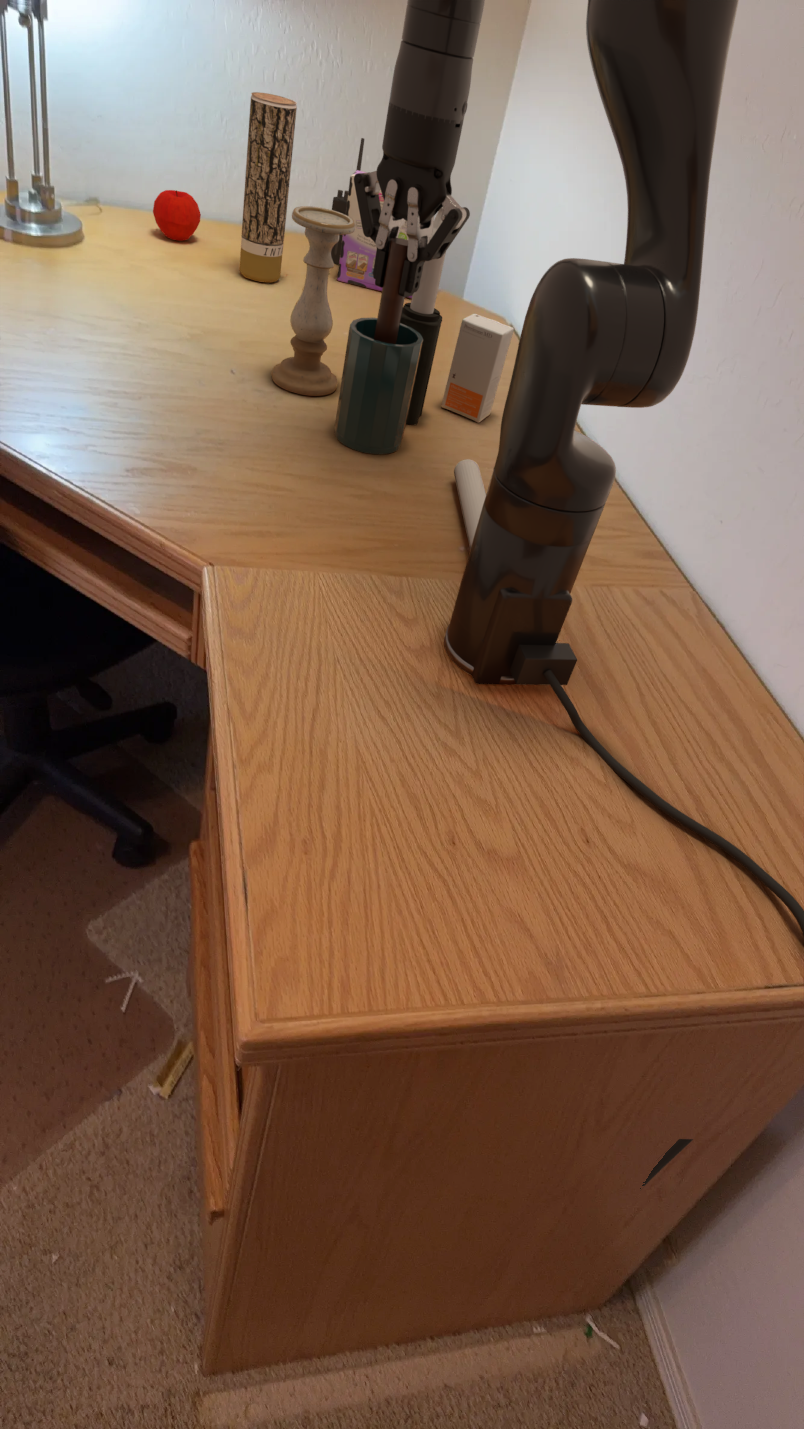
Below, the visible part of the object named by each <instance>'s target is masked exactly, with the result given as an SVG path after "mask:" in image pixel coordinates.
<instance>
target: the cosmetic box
mask: <svg viewBox="0 0 804 1429" xmlns="http://www.w3.org/2000/svg"><path fill="white" fill-rule="evenodd" d="M514 331H515V328H514V327H512V326H509V325H507V324H504V323H502V322H499V321H498V320H495V319H492V318H488V317H485V316H483V315H480V314H477V313H475V312H474V313H472V314H470V315H468V316H466V317H464V318H462V320H461V323H460V327H459V332H458V336H457V338H456V339H457V340H456V344H455V348H454V352H453V356H452V361H451V364H450V369H449V372H448V377H447V381H446V384H445V388H444V393H443V398H442V402H441V408H443V409H446V410H449V411H451V412H453V413H455V414H458V415H460V416H463V417H464V418H467V419H470V420H472V421H474V422H476V423H480V422H482V421H483V420H484V419H486V418H487V417H489V416H490V415H491V412H492V409H493V406H494V402H495V400H496V394H497V391H498V388H499V386H500V385H499V384H500V381H501V378H502V373H503V370H504V366H505V362H506V359H507V356H508V352H509V348H510V345H511V341H512V339H513V335H514Z"/></svg>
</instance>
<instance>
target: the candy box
mask: <svg viewBox="0 0 804 1429" xmlns="http://www.w3.org/2000/svg"><path fill="white" fill-rule="evenodd" d="M358 173H368V172H366V171H363V170H361V171H359V170H357V171H356V170H355V171H354V172H353V173H352V174H351V175H350V176H349V182H348V183H349V184H348V190H347V191H348V199H347V207H346V214H345V215H347V216H349V217H350V218H352V219H353V220H354V222H355V230H354V232H353V233H351V234H345V235H343V237H342V246H341V253H340V261H339V265H338V268H337V275H336V281H338V282H343V283H346V284H350V285H355V286H357V287H362V288H367V289H371V290H374V291H379V292H382V288H383V287H382V288H381V287H379V286H376V285H375V279H374V278H373V269H374V264H375V257H376V251H377V247H376V244H375V242H374V241H373V240H372V239H371V238H370V237H366V236H365V235H364V233H363V228H362V223H361V218H360V212H359V207H358V201H357V196H356V190H355V185H354V176H355V175H356V174H358ZM378 194H379V200H380V205H381V211H382V207H383V203H384V199H383V195H382V192H381V190H380V191H379V193H378ZM419 226H420V224H419ZM406 231H407V221H405V223H404V225H403V226H402V227H401V230H400V233H399V236H398V238H401V239H405V240H408V236H407V233H406ZM407 298H408V299H412V296H409V297H407Z"/></svg>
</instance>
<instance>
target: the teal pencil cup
mask: <svg viewBox="0 0 804 1429" xmlns="http://www.w3.org/2000/svg"><path fill="white" fill-rule="evenodd" d="M377 318H378V317H360V318H356V319H353V320H352V321H351V323H350V324H349V327H348V328H349V329H348V334H347V342H346V348H345V354H344V361H343V367H342V374H341V381H340V388H339V394H338V402H337V408H336V415H335V421H334V430H333V431H334V432H333V433H334V436H335V438H336V439H337V441H338V442H339V443H341V444H342V445H343V446H345V447H347V448H349V449H352V450H353V451H354V450H355V451H357V452H360V453H365V454H369V455H370V454H371V455H389V454H392V453H393V454H394V453H396V452H397V451H399V450H400V448H401V447H402V443H403V439H404V437H405V436H404V435H405V431H406V426H407V424H406V421H407V416H408V411H409V407H410V402H411V397H412V392H413V387H414V382H415V378H416V373H417V368H418V363H419V358H420V353H421V349H422V344H423V338H422V336H421V334H420V333H419V332H417V331H416V330H414V329H413V328H411V327H409V326H406V325H404V324H402V323H400V325H399V331H398V336H397V341H396V344H389V343H384V342H381V341H377V340H374V335H375V329H376V324H377Z"/></svg>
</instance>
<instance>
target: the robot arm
mask: <svg viewBox="0 0 804 1429" xmlns="http://www.w3.org/2000/svg"><path fill="white" fill-rule="evenodd" d="M739 1H740V0H587V6H586V7H587V8H586V20H585V36H586V45H587V51H588V56H589V60H590V61H589V62H590V65H591V69H592V72H593V77H594V81H595V84H596V88H597V90H598V94H599V98H600V100H601V104H602V107H603V110H604V113H605V117H606V118H607V121H608V125H609V128H610V130H611V133H612V136H613V140H614V143H615V144H616V149H617V153H618V155H619V159H620V162H621V167H622V172H623V176H624V182H625V188H626V189H625V190H626V202H627V203H626V204H627V221H626V222H627V224H626V242H625V251H624V258H623V259H624V260H623V263H618V262H611V261H602V260H598V259H597V260H596V259H588V258H578V257H570V258H568V257H567V258H563V259H560V260H558V261H556V262H555V263H553V264H552V265H550V267H549V268H548V269H547V270H546V271H545V272H544V274H542V276H541V277H540V279H539V282H538V283H537V285H536V287H535V289H534V290H533V293H532V295H531V298H530V301H529V303H528V307H527V310H526V313H525V315H524V316H525V317H524V320H523V324H522V329H521V333H520V337H519V341H518V347H517V351H516V356H515V358H514V359H515V360H514V364H513V370H512V372H511V379H510V383H509V387H508V391H507V395H506V397H505V398H506V399H505V403H504V407H503V412H502V416H501V422H500V430H499V431H500V432H499V444H498V451H497V456H496V459H495V464H494V466H493V471H492V473H491V477H490V481H489V483H488V487H487V490H486V497H485V501H484V504H483V507H482V511H481V514H480V518H479V521H478V525H477V528H476V532H475V535H474V539H473V542H472V546H471V549H470V548H469V554H468V556H467V560H466V563H465V567H464V571H463V574H462V578H461V580H460V585H459V588H458V591H457V596H456V599H455V601H454V606H453V610H452V613H451V617H450V621H449V624H448V625H447V628H446V630H445V634H444V637H443V638H444V639H443V646H444V650H445V653H446V654H447V656H448V658H449V659H450V660H451V661H452V662H453V663H454V665H456V667H457V668H459V669H460V670H462V671H463V672H465V673H466V674H468V675H470V676H471V678H472V679H473V681H474V683H475V684H476V685H499V686H500V685H503V686H514V685H515V686H516V685H517V686H525V685H526V686H549V687H550V688H551V689H552V691H553V692H554V694H555V695H556V697H557V698H558V700H559V702H560V703H561V705H562V706H563V708H564V710H565V711H566V713H567V715H568V717H569V719H570V721H571V723H572V725H573V727H574V728H575V730H576V731H577V732H578V733H579V735H580V736H581V737H582V738H583V740H584V741H585V742H586V743H587V744H588V746H590V747H591V748H592V750H594V751H595V752H596V753H597V754H598V756H600V757H601V758H602V760H603V761H604V762H605V763H606V764H607V765H608V766H609V767H610V768H611V769H612V770H613V771H614V773H615V774H616V775H618V776H619V777H620V778H621V779H622V780H624V781H625V782H626V783H627V784H628V785H629V786H631V788H633V789H635V791H637V792H638V793H639V794H640V795H641V796H642V797H644V798H645V799H646V800H648V802H649V803H651V804H652V805H654V806H655V807H656V808H657V809H659V810H660V811H661V812H663V813H664V814H665V815H667V816H669V817H670V818H672V819H673V820H675V821H676V822H678V823H679V824H681V825H682V826H683V827H685V828H687V829H689V830H690V831H692V832H693V833H695V834H697V835H698V836H700V837H702V838H703V839H705V840H706V841H709V842H710V843H712V844H713V845H715V846H716V847H717V848H719V849H721V850H723V851H724V852H725V853H726V854H728V855H729V856H730V857H732V858H733V859H735V860H736V861H737V862H738V863H739V864H741V865H742V866H743V867H744V868H745V869H746V870H747V871H748V872H750V873H751V874H752V875H753V876H754V877H755V878H756V879H758V880H759V882H761V883H762V884H763V885H764V886H765V887H767V889H769V891H770V892H772V893H773V894H774V895H775V896H776V897H777V898H778V899H779V900H780V901H781V902H782V903H783V904H784V905H785V906H786V907H787V909H788V910H789V911H790V913H791V914H792V916H793V917H794V918H795V920H796V922H797V924H798V926H799V928H800V931H801V933H802V936H803V937H804V908H803V907H802V906H801V904H800V903H799V902H798V900H796V898H795V897H794V896H793V895H792V894H791V893H790V892H789V891H788V890H787V889H786V888H785V887H784V886H783V885H782V884H780V882H778V881H777V880H776V879H775V878H773V876H771V875H770V874H769V873H768V872H767V871H766V870H764V869H763V868H762V867H761V866H760V865H759V864H757V862H755V861H754V860H753V859H752V858H751V857H750V856H748V855H747V854H746V853H745V852H743V851H742V850H741V849H740V848H738V847H737V846H736V845H734V844H733V843H731V842H730V841H728V840H727V839H725V838H724V837H723V836H721V835H719V834H717V833H716V832H715V831H712V830H711V829H710V828H708V827H707V826H704V825H703V824H701V823H699V822H698V821H696V820H694V819H693V818H692V817H690V816H688V815H687V814H685V813H683V812H682V811H680V810H679V809H677V808H676V807H675V806H673V805H671V804H670V803H669V802H667V801H666V800H664V799H663V798H662V797H661V796H659V795H658V794H657V793H656V792H655V791H653V790H652V789H651V788H650V787H649V786H647V784H645V783H644V782H642V781H641V780H640V779H639V778H637V777H636V776H635V775H634V774H633V773H631V772H630V771H629V770H628V769H626V767H625V766H623V764H621V763H620V762H619V761H618V760H617V759H616V758H615V757H613V755H611V753H610V752H609V751H608V750H607V749H606V748H605V747H604V746H603V745H602V744H601V742H600V741H599V740H598V739H597V738H596V737H595V735H593V733H592V732H591V730H590V729H589V728H588V727H587V725H586V724H585V722H584V721H583V720H582V719H581V716H580V714H579V712H578V710H577V709H576V707H575V705H574V703H573V702H572V699H571V698H570V697H569V695H568V693H567V692H566V691H565V689H564V687H563V686H568V683H569V681H570V679H571V677H572V674H573V672H574V669H575V668H576V665H577V662H578V658H577V656H576V654H575V653H574V651H573V649H572V647H571V645H570V643H568V642H557V641H558V638H559V637H560V634H561V631H562V629H563V626H564V624H565V620H566V619H567V616H568V613H569V611H570V609H571V605H572V603H573V596H572V595H571V593H572V591H573V588H574V585H575V583H576V580H577V577H578V575H579V573H580V569H581V568H582V564H583V562H584V559H585V557H586V554H587V551H588V549H589V546H590V544H591V541H592V538H593V536H594V535H595V531H596V529H597V526H598V524H599V521H600V518H601V517H602V513H603V511H604V508H605V506H606V503H607V501H608V498H609V496H610V493H611V490H612V489H613V486H614V483H615V479H616V474H617V467H616V463H615V461H614V459H613V457H612V455H610V454H609V453H608V451H607V450H606V449H605V448H604V447H603V446H602V445H600V444H599V443H598V442H596V441H595V440H593V438H590V437H588V436H586V435H585V434H584V433H582V432H579V431H577V430H576V425H577V421H578V417H579V414H580V410H581V407H582V405H583V406H584V405H585V406H600V407H601V406H603V407H616V408H634V409H642V408H651V407H655V406H657V405H658V404H660V403H662V402H664V401H665V400H666V399H667V398H668V397H669V396H670V395H671V394H672V393H673V391H674V390H675V388H676V387H677V385H678V384H679V382H680V380H681V378H682V376H683V374H684V372H685V369H686V366H687V364H688V361H689V358H690V354H691V350H692V346H693V343H694V342H693V341H694V338H695V334H696V328H697V327H696V326H697V320H698V313H699V304H700V292H701V284H702V273H703V272H702V271H703V260H704V246H705V235H706V223H707V222H706V221H707V209H708V197H709V188H710V177H711V169H712V163H713V161H712V160H713V153H714V148H715V147H714V146H715V140H716V135H717V126H718V119H719V112H720V106H721V100H722V93H723V87H724V80H725V75H726V68H727V63H728V56H729V52H730V46H731V42H732V36H733V30H734V26H735V21H736V16H737V11H738V7H739ZM485 2H486V0H407V1H406V8H405V16H404V21H403V29H402V33H401V41H400V45H399V49H398V54H397V56H396V62H395V64H394V67H393V68H394V70H393V73H392V74H393V75H392V81H391V85H390V92H389V99H388V105H387V106H388V107H387V112H386V119H385V126H384V132H383V139H382V146H381V149H382V158H381V160H380V162H379V163H378V165H377V167H376V170H375V171H370V172H367V173H358V174H356V175H355V176H354V185H355V190H356V196H357V201H358V207H359V212H360V218H361V223H362V228H363V233H364V235H365V236H366V237H370V238H371V239H372V240H373V241H374V242H375V244H376V247H377V251H376V257H375V264H374V269H373V278H374V279H375V285H376V286H379V287H381V288H382V287H383V282H384V276H385V271H386V265H387V259H388V253H389V247H390V241H391V239H392V238H398V236H399V233H400V230H401V227H402V226H403V225H404V223H405V221H407V231H406V233H407V236H408V252H407V257H408V259H407V260H405V261H404V267H403V272H402V278H401V283H400V289H399V295H400V296H403V297H405V299H407V298H408V297H409V296H412V295H413V294H414V292H417V290H418V289H419V286H420V281H421V276H422V270H423V265H424V262H425V261H430V260H433V259H439V258H441V257H442V256H443V255H444V253H445V252H446V253H447V251H448V249H449V248H450V246H451V245H452V243H453V242H454V240H455V239H456V238H457V236H458V234H459V233H460V231H461V230H462V228H463V227H464V226H465V224H466V223H467V221H468V220H469V218H470V216H471V211H470V210H469V208H468V207H467V206H461V205H460V204H459V203H458V202H457V201H456V199H455V198H454V197H453V196H452V194H453V187H452V181H451V178H452V177H451V176H452V172H453V170H454V167H455V164H456V160H457V154H458V150H459V144H460V142H461V141H460V140H461V135H462V131H463V126H464V120H465V116H466V112H467V110H468V100H469V96H470V91H471V84H472V73H473V64H474V57H475V53H476V48H477V44H478V38H479V33H480V29H481V22H482V18H483V15H484V14H483V13H484V8H485ZM380 190H381V192H382V195H383V199H384V203H383V207H382V211H381V205H380V200H379V194H378V193H379V191H380ZM442 207H443V213H442V215H441V220H442V223H441V225H440V226H439V228H438V229H437V231H436V232H435V234H434V235H433V237H432V238H431V240H430V236H431V234H432V232H433V222H434V219H435V216H436V215H437V213H438V211H439V210H440V209H441V208H442ZM419 224H420V226H419ZM693 1141H694V1139H693V1138H679V1139H678V1140H677V1141H676V1143H675V1142H674V1143H675V1144H674V1143H673V1144H674V1145H673V1144H672V1145H673V1146H672V1145H671V1146H672V1147H671V1146H670V1147H671V1148H670V1147H669V1148H670V1149H669V1148H668V1149H669V1150H668V1149H667V1150H668V1151H667V1150H666V1151H667V1152H666V1151H665V1152H666V1153H665V1152H664V1153H665V1155H664V1156H663V1158H662V1159H661V1160H660V1161H659V1162H658V1164H657V1165H656V1166H655V1167H654V1168H653V1170H652V1171H651V1173H650V1174H649V1176H648V1178H647V1179H646V1181H645V1182H643V1183H645V1184H643V1185H642V1186H644V1187H645V1186H647V1184H648V1183H649V1182H650V1181H651V1180H653V1178H654V1177H655V1176H657V1175H658V1173H660V1171H662V1170H663V1169H664V1168H665V1167H666V1166H667V1165H668V1164H669V1163H670V1162H671V1161H672V1160H673V1159H674V1158H676V1156H678V1155H679V1154H680V1153H681V1152H682V1151H683V1150H684V1149H685V1148H686V1147H688V1145H689V1144H691V1143H692V1142H693ZM640 1189H641V1188H640ZM641 1190H642V1189H641Z"/></svg>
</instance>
